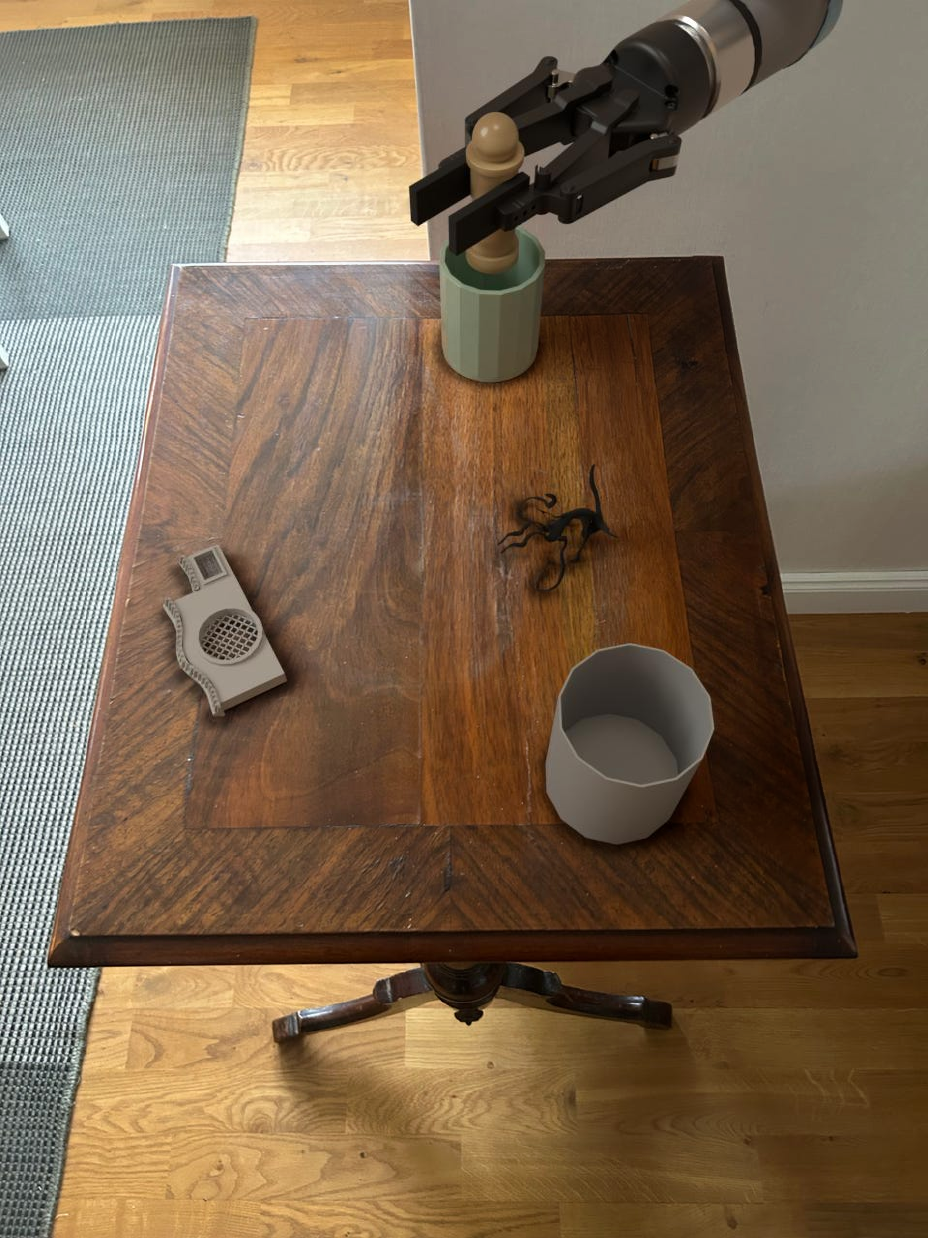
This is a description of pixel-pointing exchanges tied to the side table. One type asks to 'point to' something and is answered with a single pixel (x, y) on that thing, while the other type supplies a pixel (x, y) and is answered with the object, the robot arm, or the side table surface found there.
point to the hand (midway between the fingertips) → (433, 220)
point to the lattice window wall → (220, 634)
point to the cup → (626, 742)
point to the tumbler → (492, 313)
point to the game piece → (493, 186)
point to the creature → (558, 526)
